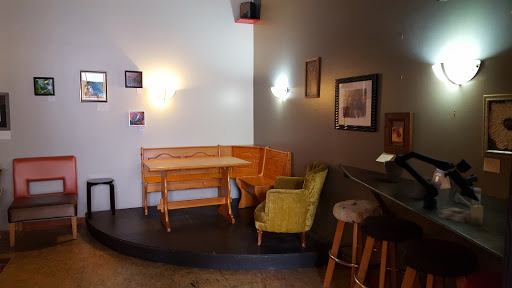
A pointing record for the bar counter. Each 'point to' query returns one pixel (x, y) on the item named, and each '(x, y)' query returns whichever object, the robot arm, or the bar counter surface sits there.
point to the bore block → (455, 214)
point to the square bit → (478, 193)
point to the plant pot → (393, 171)
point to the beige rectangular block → (476, 215)
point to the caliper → (461, 199)
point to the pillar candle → (420, 189)
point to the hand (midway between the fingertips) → (478, 200)
